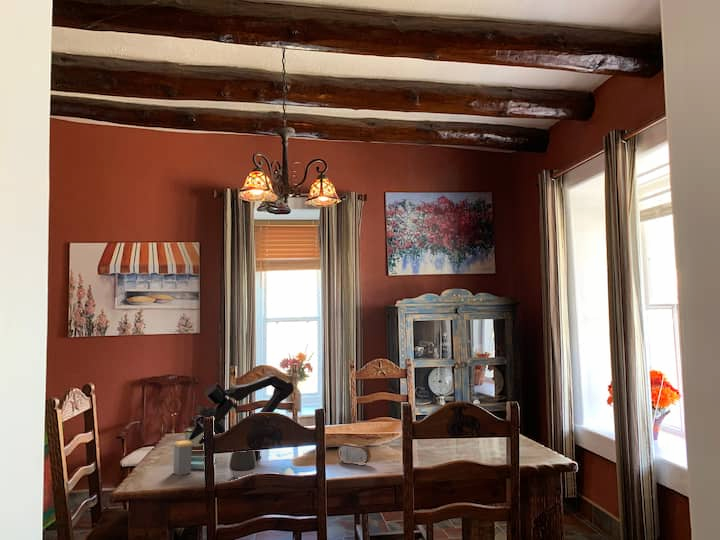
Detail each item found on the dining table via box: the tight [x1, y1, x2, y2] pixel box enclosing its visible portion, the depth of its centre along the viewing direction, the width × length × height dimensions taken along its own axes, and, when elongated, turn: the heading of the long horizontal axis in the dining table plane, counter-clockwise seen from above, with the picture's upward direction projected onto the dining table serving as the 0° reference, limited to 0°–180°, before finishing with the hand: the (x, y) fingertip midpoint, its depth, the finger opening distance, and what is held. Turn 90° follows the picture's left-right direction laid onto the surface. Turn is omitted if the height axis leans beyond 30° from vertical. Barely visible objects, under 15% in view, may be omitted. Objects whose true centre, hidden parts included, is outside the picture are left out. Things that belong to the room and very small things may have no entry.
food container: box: [183, 426, 203, 450], centre depth 243 cm, size 12×6×10 cm, turn 84°
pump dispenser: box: [229, 451, 257, 479], centre depth 203 cm, size 10×10×15 cm
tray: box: [191, 455, 217, 470], centre depth 217 cm, size 11×11×2 cm
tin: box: [336, 442, 372, 464], centre depth 222 cm, size 15×3×8 cm, turn 65°
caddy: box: [173, 439, 192, 476], centre depth 207 cm, size 5×5×12 cm
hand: (194, 441), depth 210 cm, fingers open, 9 cm apart
